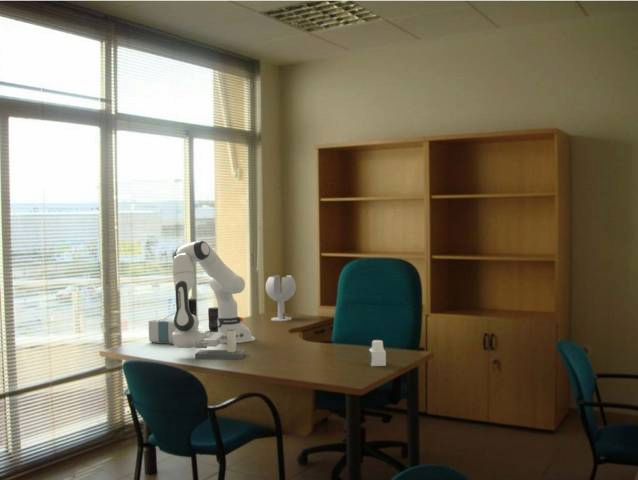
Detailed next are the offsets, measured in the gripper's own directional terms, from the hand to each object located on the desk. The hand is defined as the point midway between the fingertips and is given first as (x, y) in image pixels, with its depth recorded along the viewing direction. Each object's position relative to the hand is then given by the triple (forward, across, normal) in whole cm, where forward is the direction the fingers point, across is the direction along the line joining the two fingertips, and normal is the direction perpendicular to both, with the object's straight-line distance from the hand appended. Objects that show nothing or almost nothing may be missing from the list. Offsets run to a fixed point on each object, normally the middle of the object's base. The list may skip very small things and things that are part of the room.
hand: (229, 339), depth 353 cm
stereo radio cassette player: (-44, +38, +9) cm, 59 cm away
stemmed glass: (+12, +118, +9) cm, 119 cm away
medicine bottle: (+76, -18, +9) cm, 79 cm away
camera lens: (-24, +73, +9) cm, 78 cm away
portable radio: (-35, +56, +9) cm, 66 cm away
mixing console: (-5, 0, +9) cm, 10 cm away
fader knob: (+1, 0, +6) cm, 6 cm away
